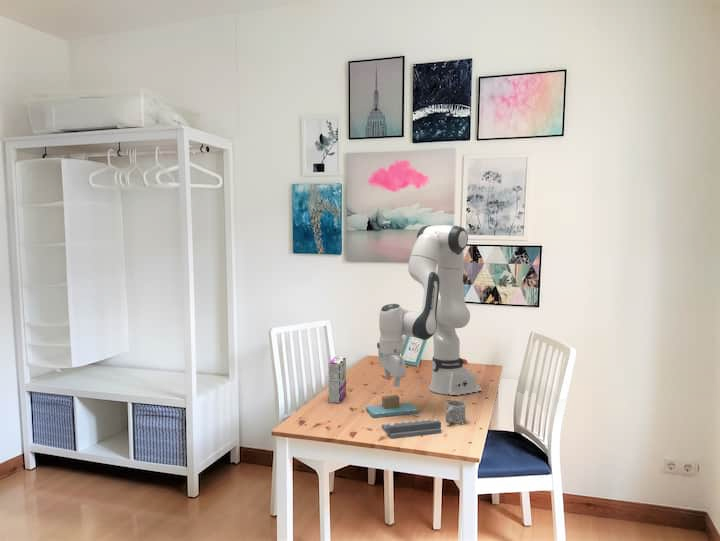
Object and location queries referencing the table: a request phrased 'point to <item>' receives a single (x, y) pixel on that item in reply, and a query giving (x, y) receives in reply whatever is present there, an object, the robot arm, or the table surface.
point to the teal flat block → (391, 407)
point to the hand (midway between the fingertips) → (392, 382)
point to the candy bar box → (337, 379)
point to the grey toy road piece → (412, 428)
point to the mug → (455, 412)
